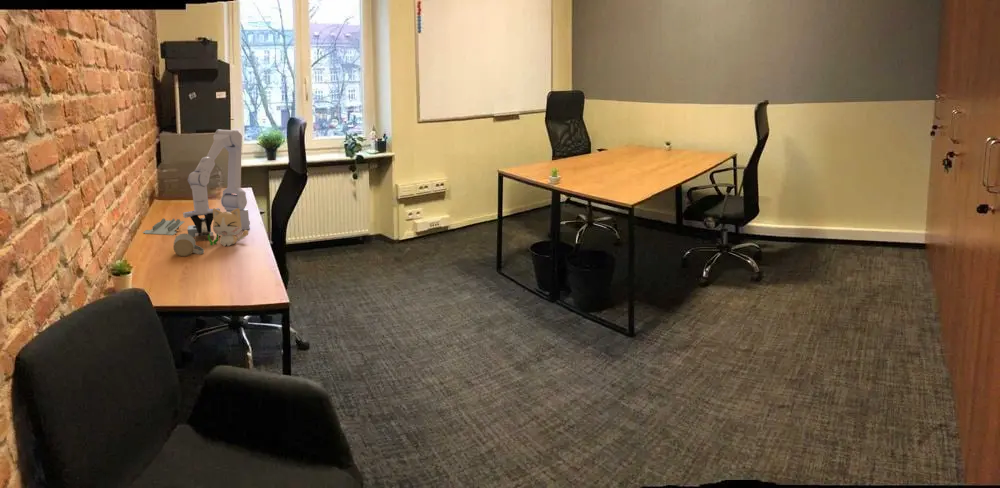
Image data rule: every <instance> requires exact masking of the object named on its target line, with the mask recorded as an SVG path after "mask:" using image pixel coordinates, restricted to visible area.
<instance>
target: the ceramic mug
mask: <svg viewBox="0 0 1000 488" xmlns="http://www.w3.org/2000/svg"><path fill="white" fill-rule="evenodd" d="M196 242H197V241H195V237H192V236H191V235H189V234H188V233H180V234H178V235H177V236H176V237H175V238H174V241H173V250H174V252H175V254H176V255H177V256H178V257H184V256H185V257H189V256H190V255H191V254H195V255H203V254H204V251H205V249H204V248H203V247H202V246H199V245H198V244H197V243H196ZM185 257H184V258H185Z"/></svg>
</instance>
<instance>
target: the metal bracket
mask: <svg viewBox="0 0 1000 488" xmlns="http://www.w3.org/2000/svg"><path fill="white" fill-rule="evenodd" d="M184 223H185V220H180V218H177V219H175V218H172V220H166V219H165V218H164V217H163V218H161V221H159V222H157V223H155V224H154V225H153V226H152V228H151V229H145V230H144V231H143V232H142V233H145V234H144V235H159V236H174V235H176V234H177V232H178V231H176V230H177V229H180V227H181V225H183V224H184Z"/></svg>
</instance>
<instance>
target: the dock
mask: <svg viewBox="0 0 1000 488" xmlns="http://www.w3.org/2000/svg"><path fill="white" fill-rule="evenodd" d="M186 230H187V234H189V235H191V236H192V237H193V238H195V233H198V232H197V229H196V226H195V224H192V225H187V229H186ZM210 232H212V227H211V228H210Z"/></svg>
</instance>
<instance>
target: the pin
mask: <svg viewBox="0 0 1000 488" xmlns="http://www.w3.org/2000/svg"><path fill="white" fill-rule="evenodd" d="M199 218H200V228H201V233H200V236H203V235H208V227H207V218H205V217H199Z"/></svg>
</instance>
